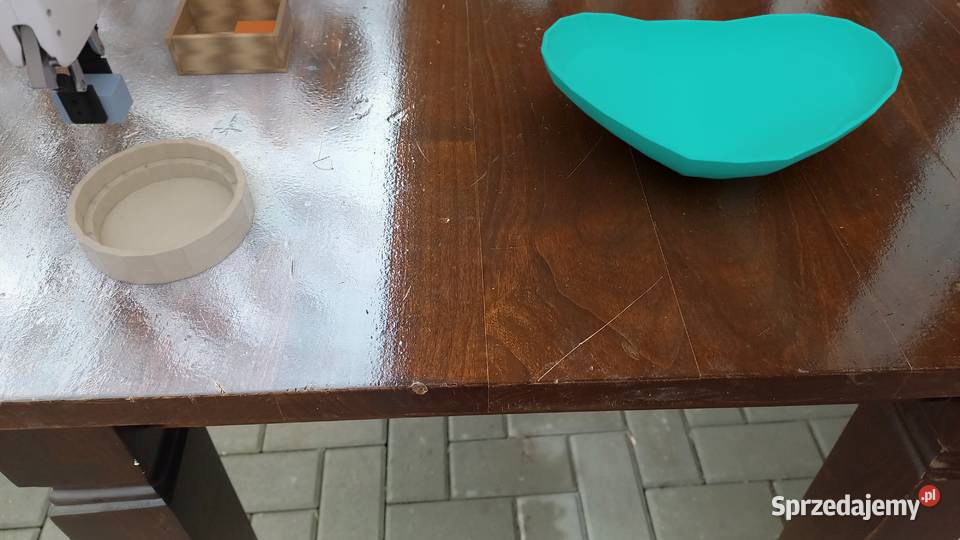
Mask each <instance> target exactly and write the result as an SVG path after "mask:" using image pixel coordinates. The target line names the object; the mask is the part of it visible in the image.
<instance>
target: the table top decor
mask: <svg viewBox="0 0 960 540" xmlns="http://www.w3.org/2000/svg"><path fill="white" fill-rule="evenodd" d="M540 52H541V55H542V58H543V62H544V64H545V65H544V66H545V67H546V70H547V73H548V74H549V76H550V78H551V81H552V83H553V84H554V85H555V86H556V87H557V88H558V89H559V90H560V91H561V92H562V93H563V94H564V95H565V96H566V97H567V98H568V99H569V100H570V101H571V102H573V104H575V105H576V106H577V107H578V109H580V110H581V111H583V112H584V113H585V114H586V115H587V116H588V117H590V118H591V119H592V120H594V121H595V122H597V123H598V125H601V126H602V128H605V129H606V130H607V131H609V132H610V133H611V134H612V135H614V136H616V137H617V138H619V139H620V140H622V141H623V142H625V143H627V144H628V145H630V146H631V147H633V148H634V149H635V150H637V151H639V152H640V153H642V154H644V155H645V156H647V157H649V158H650V159H652V160H654V161H656V162H658V163H660V164H661V165H664V166H665V167H667V168H669V169H671V170H673V172H676V173H677V174H680V175H682V176H686V177H694V178H704V179H712V180H713V179H715V180H725V179H735V178H746V177H758V176H759V177H760V176H767V175H770V174H772V173H775V172H778V171H780V170H782V169H785V168H787V167H789V166H791V165H793V164H796V163H798V162H800V161H802V160H804V159H806V158H808V157H811V156H812V155H813V156H814V155H815V154H817V153H819V152H822V151H824V150H825V149H827V148H828V147H831V146H832V145H833V144H835V143H836V142H838V141H840V140H841V139H842V138H844V137H845V136H846V135H848V134H850V133H852V132H853V131H854V130H856V129H857V128H859V127H860V126H861V125H863V124H864V123H865V122H866V121H867V120H868V119H870V118H871V117H872V115H874V114H875V113H876V112H877V111H878V110H879V109H880V108H881V107H882V105H883V104H884V103H885V102H886V101H887V100H888V99H889V98H890V97H891V96H892V95H893V94H894V93H895V92H896V91H897V87H898V86H899V85H898V84H899V81H900V78H901V75H902V72H903V68H902V66H901V64H900V60H899V58H898V56H897V53H896V50H895V49H894V48H893V47H891V45H890V44H888V43H887V41H885V40H884V39H883V38H882V37H881V36H880V35H879V34H878V33H877V32H876V31H873V30H871V29H869V28H867V27H865V26H863V25H860V24H858V23H856V22H854V21H852V20H849V19H846V18H842V17H841V18H840V17H835V16H828V15H821V14H817V13H775V14H769V13H768V14H763V15H756V16H751V17H744V18H738V19H731V20H700V19H698V20H697V19H669V20H668V19H667V20H666V19H665V20H663V19H661V20H644V19H639V18H634V17H630V16H625V15H620V14H616V13H609V12H608V13H607V12H605V13H604V12H580V13H575V14H572V15H567V16H563V17H560V18H559V19H557V21H555V22H554V23H553V24H552V25H551V26H550V27H549V28H548V29H546V30H545V32H544V33H543V38H542V43H541V47H540Z"/></svg>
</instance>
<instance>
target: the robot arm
mask: <svg viewBox="0 0 960 540" xmlns="http://www.w3.org/2000/svg"><path fill="white" fill-rule="evenodd" d="M100 15H101V6H100V3H99V0H0V47H1V49H2V50H3V53H4V55H5V56H6V57H7V59H8V61H9V62H10V64H11V65H12V66H13V67H15V68H17V69H22V68H25V66H26V67H27V72H28V73H27V74H28V78H29V82H30V86H31V88H32V89H33V90H34V91H51V93H52V92H56V93H57V95H58V97H59V99H60V101H61V103H62V105H63V107H64V109H65V110H66V112H67V114H68V116H69V118H70V120H71V122H72V123H74V124H73V125H106V124H107V123H106V122H107V120H108V117H107V115H106V113H105V110H104V108H103V106H102V104H101V102H100V100H99V98H98V95H97V93H96V91H95V89H94V87H93V85H87V83H86V80H85V77H84V75H83V74H114V72H113V70H112V67H111V66H110V63H109V61H108V58H107V57H105V55H106V49H105V48H106V47H105V45H104V44H103V42H102V39H101V37H100V35H99V26H98V20H99V18H100ZM56 67H62V68H67V70H68V73H64V72H61V73H60V72H58V71H57V69H56ZM67 74H70V75H67Z"/></svg>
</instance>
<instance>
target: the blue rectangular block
mask: <svg viewBox="0 0 960 540" xmlns="http://www.w3.org/2000/svg"><path fill="white" fill-rule="evenodd" d="M66 74H67V75H70V73H66ZM83 75H84V77H85V80H86V83H87V85H93V87H94V89H95V91H96V93H97V95H98V98H99V100H100V102H101V104H102V106H103V108H104V110H105V113H106V115H107V117H108V120H107V122H106V123H105V124H125V121H126V118H127V117H128V114H129V111H130V109H131V107H132V105H133V103H134V100H133V98H132V95H131V93H130V90H129V87H128V85H127V83H126V81H125V78H124V76H123V74H122V73H113V74H83ZM49 97H50V99H51V101H52V102H53V105H54V106H55V108H56V110H57V112H58V114H59V115H60V118H61V119H62V121H63V123H64V125H71V124H72V125H75V124H74V123H72V122H71V120H70V118H69V116H68V114H67V112H66V110H65V109H64V107H63V105H62V103H61V101H60V99H59V97H58V95H57V93H56V92H52V91H51V94H50V95H49Z"/></svg>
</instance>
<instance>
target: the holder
mask: <svg viewBox="0 0 960 540" xmlns="http://www.w3.org/2000/svg"><path fill="white" fill-rule="evenodd" d="M290 6H291V5H290V1H289V0H179V3H178V5H177V7H176V10H175V12H174V15H173V17H172V20H171V23H170V25H169V27H168V30H167V32H166V35H165V37H164V40H165V42H166V45H167V49H168V51H169V53H170V56H171V59H172V61H173V64H174V67H175V69H176V73H177V75H178V76H198V75H199V76H201V75H203V76H204V75H237V74H239V75H241V74H274V73H275V74H276V73H288V68H289V63H290V57H291V53H292V47H293V42H294V37H295V31H296V30H295V26H294V20H293V16H292V12H291V7H290ZM273 20H276V24H275V28H274V32H273V33H242V34H234V31H235V28H236V25H237V21H273Z"/></svg>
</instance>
